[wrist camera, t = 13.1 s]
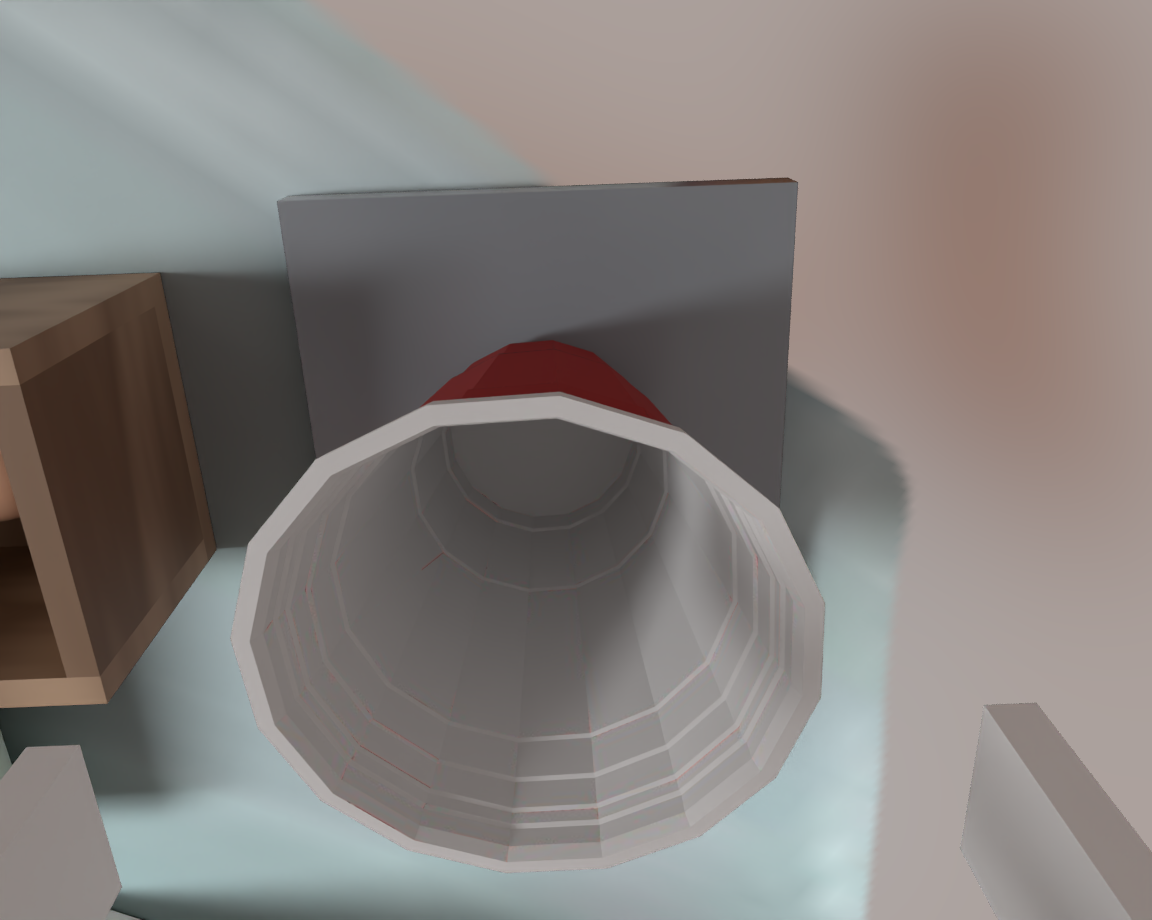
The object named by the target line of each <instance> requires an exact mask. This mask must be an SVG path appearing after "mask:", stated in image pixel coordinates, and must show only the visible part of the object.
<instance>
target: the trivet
mask: <svg viewBox="0 0 1152 920" xmlns="http://www.w3.org/2000/svg"><path fill="white" fill-rule="evenodd" d="M797 191H798V182H796V181H794V180H792V179H790V178H766V179H737V180H713V181H712V180H711V181H683V182H655V183H628V184H602V185H573V186H545V187H518V188H490V189H463V190H435V191H408V192H380V193H353V194H325V195H298V196H287V197H285V198H283V199H281V200H279V201H277V205H278V212H279V219H280V225H281V232H282V238H283V245H284V251H285V258H286V265H287V271H288V278H289V284H290V291H291V298H292V304H293V311H294V317H295V324H296V330H297V337H298V344H299V350H300V357H301V363H302V370H303V377H304V383H305V390H306V396H307V403H308V409H309V416H310V423H311V429H312V436H313V442H314V449H315V456H316V459H318V458H320V457H321V456H323V455H325V454H327V453H329V452H331V451H333V450H335V449H337V448H339V447H341V446H343V445H345V444H347V443H349V442H351V441H353V440H355V439H357V438H359V437H361V436H363V435H365V434H367V433H369V432H371V431H373V430H375V429H377V428H380V427H382V426H384V425H386V424H388V423H390V422H392V421H394V420H396V419H398V418H400V417H402V416H404V415H406V414H408V413H410V412H412V411H414V410H416V409H418V408H419V407H421V406H422V405H423V404H424V403H425V402H426V401H427V400H428V399H429V398H430V397H431V396H433V395H434V394H435V393H436V392H437V391H438V390H439V389H440V388H441V387H442V386H444V385H445V384H446V383H447V382H448V381H449V380H450V379H451V378H453V377H455V376H457V375H459V374H461V373H463V372H464V371H465V370H466V369H467V368H468V367H469V366H470V365H471V364H472V363H474V362H476V361H478V360H479V359H481V358H483V357H485V356H487V355H489V354H491V353H493V352H495V351H497V350H499V349H501V348H503V347H505V346H507V345H509V344H513V343H525V342H536V341H547V340H554V341H557V342H561V343H564V344H567V345H571V346H574V347H577V348H581V349H584V350H587V351H590V352H593V353H595V354H596V355H597V356H598V357H599V358H601V359H602V360H603V361H604V362H606V363H607V364H608V365H609V366H610V367H612V368H613V369H614V370H615V371H617V372H618V373H619V374H620V375H622V376H623V377H624V378H625V379H626V380H627V381H628V382H629V383H630V384H631V385H633V386H634V387H635V388H636V389H637V390H639V391H640V392H641V393H642V394H644V395H645V396H646V397H647V398H648V399H649V400H650V401H651V402H652V403H653V404H654V405H655V407H656V408H657V409H658V410H659V411H660V412H661V413H662V414H663V415H664V417H665V418H666V419H667V420H668V421H669V422H670V423H671V424H672V425H673V426H676V427H679V428H681V429H682V430H683V431H685V432H686V433H687V434H688V435H690V436H691V437H692V438H693V439H695V440H696V441H697V442H698V443H700V444H701V445H702V446H703V447H704V448H706V449H707V450H708V451H709V452H711V453H712V454H713V455H714V456H716V457H717V458H718V459H719V460H721V461H722V462H723V463H724V464H726V465H727V466H728V467H729V468H730V469H732V470H733V471H734V472H735V473H737V474H738V475H739V476H740V477H742V478H743V479H744V480H745V481H747V482H748V483H749V484H750V485H752V486H753V487H754V488H755V489H756V490H758V491H759V492H760V493H761V494H763V495H764V496H765V497H766V498H768V499H769V500H770V501H771V502H772V503H773V504H775V505H776V506H777V507H778V508H780V490H781V473H782V455H783V438H784V420H785V403H786V385H787V367H788V350H789V332H790V314H791V296H792V279H793V262H794V245H795V227H796V209H797Z"/></svg>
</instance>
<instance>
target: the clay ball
mask: <svg viewBox="0 0 1152 920" xmlns="http://www.w3.org/2000/svg"><path fill="white" fill-rule="evenodd" d="M17 518H20V516H19V512H18V509H17V505H16V502H15V498H14V495H13V492H12V488H11V485H10V481H9V478H8V474H7V471H6V468H5V464H4V461H3V457H2V454H1V450H0V522H1V521H8V520H13V519H17Z"/></svg>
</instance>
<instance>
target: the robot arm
mask: <svg viewBox="0 0 1152 920" xmlns="http://www.w3.org/2000/svg"><path fill="white" fill-rule="evenodd" d="M960 849H961V851H962V853H963V855H964V857H965V859H966V861H967V862H968V864H969V866H970V868H971V870H972V872H973V874H974V876H975V878H976V879H977V881H978V883H979V885H980V887H981V889H982V891H983V893H984V894H985V896H986V898H987V900H988V902H989V904H990V906H991V908H992V909H993V911H994V913H995V915H996V917H997V919H998V920H1152V852H1151V851H1150V849H1149V848H1148V847H1147V845H1146V844H1145V843H1144V841H1143V840H1142V839H1141V838H1140V836H1139V835H1138V834H1137V832H1136V831H1135V830H1134V828H1133V827H1132V826H1131V825H1130V823H1129V822H1128V821H1127V819H1126V818H1125V817H1124V816H1123V814H1122V813H1121V812H1120V811H1119V809H1118V808H1117V807H1116V805H1115V804H1114V803H1113V801H1112V800H1111V799H1110V797H1109V796H1108V795H1107V794H1106V792H1105V791H1104V790H1103V789H1102V787H1101V786H1100V785H1099V783H1098V782H1097V781H1096V779H1095V778H1094V777H1093V775H1092V774H1091V773H1090V772H1089V770H1088V769H1087V768H1086V766H1085V765H1084V764H1083V763H1082V761H1081V760H1080V759H1079V757H1078V756H1077V755H1076V753H1075V752H1074V751H1073V750H1072V748H1071V747H1070V746H1069V745H1068V743H1067V742H1066V741H1065V739H1064V738H1063V737H1062V735H1061V734H1060V733H1059V731H1058V730H1057V729H1056V728H1055V726H1054V725H1053V724H1052V722H1051V721H1050V720H1049V719H1048V717H1047V716H1046V715H1045V713H1044V712H1043V711H1042V710H1041V708H1040V707H1039V706H1038V704H1037V703H1019V704H998V705H997V704H996V705H984V709H983V715H982V722H981V727H980V733H979V739H978V745H977V751H976V757H975V763H974V769H973V776H972V781H971V787H970V793H969V799H968V806H967V811H966V817H965V823H964V829H963V835H962V841H961V847H960ZM121 888H122V885H121V882H120V879H119V875H118V872H117V869H116V865H115V862H114V859H113V855H112V852H111V848H110V845H109V842H108V838H107V835H106V832H105V828H104V825H103V821H102V818H101V815H100V811H99V808H98V805H97V801H96V798H95V795H94V791H93V788H92V784H91V781H90V778H89V774H88V771H87V768H86V764H85V761H84V757H83V754H82V751H81V747H80V745H63V746H40V747H26V748H25V749H24V751H23V752H22V753H21V755H20V756H19V757H18V758H17V760H16V761H15V762H14V764H13V765H12V766H11V767H10V769H9V770H8V771H7V773H6V774H5V775H4V777H3V778H2V779H1V780H0V920H105V919H106V917H107V915H108V913H109V911H110V909H111V907H112V905H113V903H114V901H115V900H116V898H117V896H118V894H119V892H120V890H121Z"/></svg>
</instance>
